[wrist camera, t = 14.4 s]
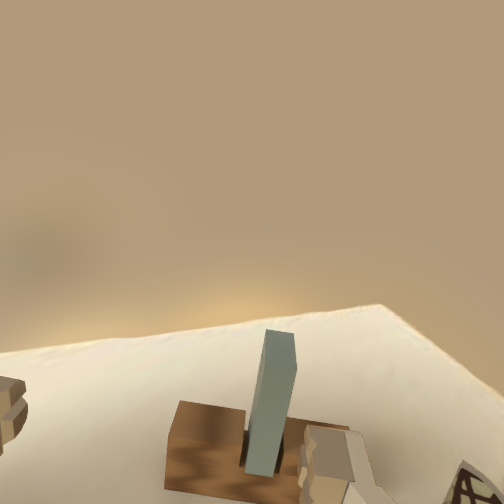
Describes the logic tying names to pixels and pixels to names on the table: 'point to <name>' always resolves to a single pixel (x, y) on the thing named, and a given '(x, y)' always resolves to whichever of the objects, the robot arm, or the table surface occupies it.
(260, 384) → the sage green pillar
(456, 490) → the food container
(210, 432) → the notched wooden block
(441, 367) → the table surface
